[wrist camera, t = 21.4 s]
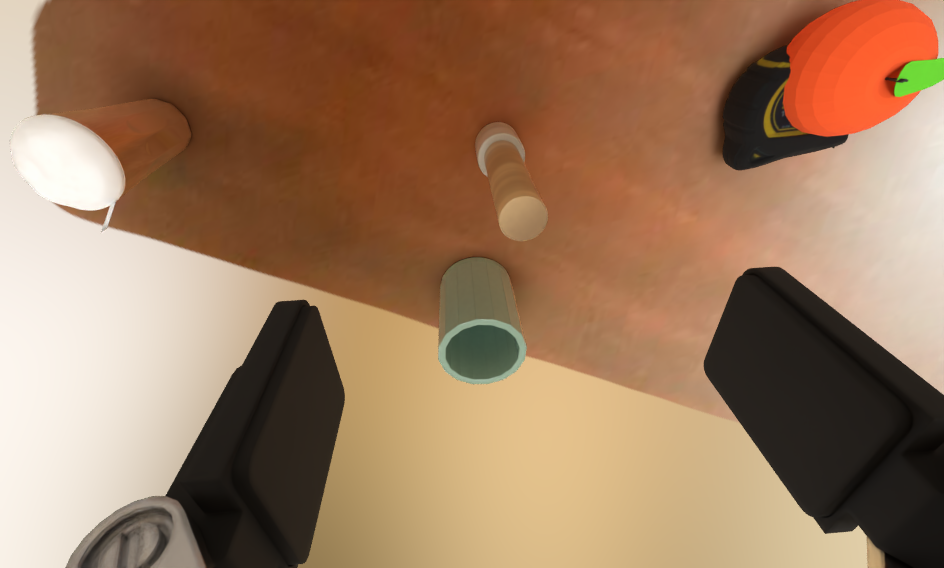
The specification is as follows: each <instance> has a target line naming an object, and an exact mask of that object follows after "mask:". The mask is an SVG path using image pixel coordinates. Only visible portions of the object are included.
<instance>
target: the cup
mask: <svg viewBox="0 0 944 568" xmlns="http://www.w3.org/2000/svg"><path fill="white" fill-rule="evenodd" d="M438 349H439V350H438V359H439V362H440V363H441V365H442V367H443V369H444V370H445V372H447V373H448V374H450V375H451V376H452V377H454V378H455V379H457V380H460V381H463V382H466V383H470V384H489V383H493V382H497V381H500V380H503V379H505V378H507V377H508V376H510V375H511V374H513V373H515V372H516V371H517V370H518V368H519V367H520V366H521V364H522V363H523V362H524V360H525V355H526V349H527V346H526V341H525V337H524V333H523V328H522V324H521V320H520V315H519V311H518V307H517V303H516V298H515V294H514V290H513V286H512V283H511V279H510V276H509V274H508V272H507V271H506V270H505V269H504V267H503V266H501V265H500V264H499V263H497V262H495V261H493V260H491V259H487V258H482V257H472V258H467V259H463V260H461V261H459V262H457V263H455V264H454V265H452V266H451V267H450V268H449V269H448V270H447V271H446V272H445V274H444V276H443V278H442V280H441V285H440V309H439V346H438Z"/></svg>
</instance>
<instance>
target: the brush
mask: <svg viewBox="0 0 944 568" xmlns="http://www.w3.org/2000/svg"><path fill="white" fill-rule="evenodd" d="M475 150H476V155H477V160H478V165H479V167H480V169H481V171H482V172H483V174H484V175H485V176H487V177H488V180H489V184H490V188H491V192H492V197H493V201H494V205H495V209H496V214H497V218H498V222H499V226H500V229H501V231H502V232H503V233H504V235H506V236H507V237H508V238H510V239H512V240H516V241H527V240H530V239H533V238H535V237H536V236H538V235H539V234H540V233H541V232H542V231H543V230H544V228H545V226H546V224H547V221H548V212H547V209H546V206H545V204H544V202H543V200H542V198H541V196H540V194H539V192H538V190H537V188H536V186H535V184H534V182H533V180H532V178H531V176H530V174H529V172H528V170H527V168H526V166H525V164H524V161H525V150H524V147H523V145H522V143H521V141H520V139H519V137H518V135H517V134H516V132H515V130H514V129H513V128H512V127H511V126H509V125H508V124H505V123H502V122H494V123H490V124H488V125H486V126H485V127H484V128H482V129H481V131H480V132H479V133H478V135H477V138H476V141H475Z"/></svg>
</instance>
